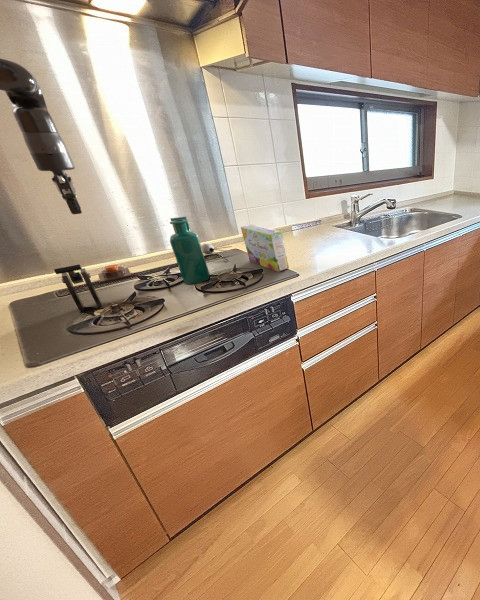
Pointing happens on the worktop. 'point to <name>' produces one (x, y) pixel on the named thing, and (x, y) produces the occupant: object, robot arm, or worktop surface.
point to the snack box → (265, 247)
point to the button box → (114, 275)
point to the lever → (71, 273)
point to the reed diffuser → (210, 249)
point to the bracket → (74, 293)
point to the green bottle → (188, 252)
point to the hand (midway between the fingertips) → (76, 211)
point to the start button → (111, 268)
